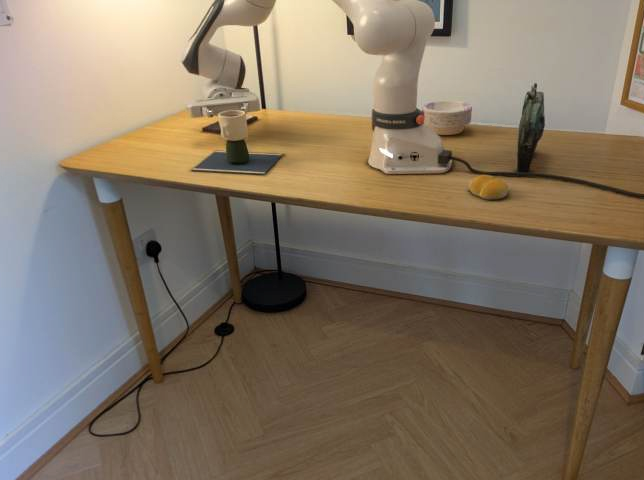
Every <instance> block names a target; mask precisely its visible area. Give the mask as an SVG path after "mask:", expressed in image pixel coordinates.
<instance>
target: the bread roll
mask: <svg viewBox="0 0 644 480" xmlns="http://www.w3.org/2000/svg"><path fill="white" fill-rule="evenodd" d="M468 185H469V187H468V188H469V191H470V192H471V193H472V195H474V196H477V197H480V198H481V199H484V200H501V199H503V198H505V197H506V196H507V195H508V193H509V185H508V184H507V182H506V181H504V180H503V179H496V178H495V177H494V176H493V175H485V174H479V175H478V176H476V177H475V178H474V179H472V180H471V181H470V182H469V184H468Z"/></svg>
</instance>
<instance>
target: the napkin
mask: <svg viewBox="0 0 644 480" xmlns="http://www.w3.org/2000/svg"><path fill="white" fill-rule="evenodd" d="M248 152H249V151H248ZM283 155H284V154H283V153H273V152H272V153H271V152H252V151H251V152H249V157H250V159H249V160H248V161H246V162H237V163H235V162H227V160H226V150H215V151H214V152H213V153H211V154H210V155H209V156H208V157H206V158H205V159H204V160H202V161H201V162H200V163H199V164H198V165H196V166H195V167H193V168H192V169H191V172H201V173H218V174H219V173H220V174H234V175H235V174H237V175H254V176H255V175H256V176H265V175H266V174H267V173H268V172H269V170H270V169H271V168H272V167H273V166H274V165H275V164H276V163H277V162H279V160H280V158H282V157H283Z"/></svg>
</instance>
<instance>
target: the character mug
mask: <svg viewBox="0 0 644 480" xmlns="http://www.w3.org/2000/svg"><path fill="white" fill-rule="evenodd" d="M246 115H247V114H245V112H244V111H240V110H229V111H223V112H220V113H219V114H218V117H217V118H218V121H219V125H220V128H221V134H220V136H221V138H222V139H223V140H225V141H226V142H225V151H226V160H227V162H235V163H237V162H246V161H248V160H249V159H250V157H249V147H248V146H247V141H246V139H247V138H248V137H249V130H248V124H247V121H246Z"/></svg>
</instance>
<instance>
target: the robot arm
mask: <svg viewBox="0 0 644 480" xmlns="http://www.w3.org/2000/svg"><path fill="white" fill-rule="evenodd" d="M331 1H332V2H333V3H334V4H335V5H337V6H338V7H339V9H340V10H341V11H343V12H344V13H345V15H346V16H347V17H348V19H349V20H350V23H352V26H353V35H354V40H355V42H356V44H357V46H358V48H359V49H360V50H361V51H362V52H364V53H365V54H367V55H370V56H371V55H372V56H382V57H381V61H380V64H379V67H378V69H377V70H376V72H375V74H374V77H373V108H372V110H371V129H372V141H371V148H370V152H369V155H368V156H369V158H368V160H367V163H368V164H369V166H371V167H373V168H374V169H377V170H380V171H381V172H383V173H384V174H386V175H415V174H418V175H419V174H420V175H421V174H424V175H425V174H444V173H446V172H448V171H450V169H451V168H452V166H453V161H456V162H459V163H462V164H463V165H465V166H466V168H467V169H468V170H469V171H470V172H472V173H474V174H477V175H478V174H479V175H490V176H519V177H520V176H523V177H541V178H547V179H548V178H550V179H557V180H562V181H570V182H573V183H580V184H584V185H588V186H592V187H596V188H600V189H604V190H607V191H608V190H609V191H613V192H616V193H619V194H624V195H627V196H631V197H638V198H644V193H640V192H634V191H631V190H625V189H621V188H619V187H614V186H611V185H610V186H609V185H605V184H601V183H598V182H593V181H588V180H585V179H580V178H576V177H570V176H563V175H559V174H558V175H557V174H551V173H550V174H549V173H539V172H529V173H523V172H517V171H481V170H477V169H476V168H473V167H472V166H471V164H470V163H469V162H468V161H466V160H465V159H462V158H459V157H456V156H453V150H449V149H445V146H444V141H443V139H442V137H441V135H439V134H436V133H435V132H433V131H432V130H431V129H430V128H428V126H427V125H425V124H424V120H425V117H424V111H423V110H422V109H419V108H418V87H419V86H418V85H419V75H420V70H421V64H422V61H423V58H424V55H425V54H424V53H425V50H426V46H427V44H428V41H429V39H430V38H431V36H432V35H433V32H434V29H435V26H436V19H435V14H434V12H433V9H432V8H431V7H430V5H429V4H427V3H426V2H424V1H422V0H331ZM276 2H277V0H214V1H213V3H212V4H211V5H210V7H209V8H208V10H207V11H206V13H205V15H204V16H203V18H202V20H201V21H200V23H199V25H198V26H197V27H196V30H195V31H194V33H193V34H192V35H191V36H190V38H189V39H188V41H187V43H186V44H185V45H184V46H183V49H182V53H181V63H182V65H183V67H184V69H185V70H186V71H187V73H188V74H191V75H195V76H200V77H203V78H206V79H207V80H206V81H205V83H204V85H203V88H202V96H203V98H197V99H192V100H191V99H190V100H189V101H188V103H187V104H186V105H185V107H186V109H187V110H188V113H189V117H190V118H193V119H195V118H196V119H197V118H206V117H207V118H214V117H216V118H218V114H219V113H220V112H223V111H229V110H240V111H244V112H245V114H246V115H248V113H255V112H256V113H257V112H260V110H261V103H260V99H259V97H258V96H257V94H255V93H254V92H252V91H250V88H249V87H243V85H244V83H245V78H246V74H247V73H246V71H247V70H246V64H245V62H244V59H243V57H242V55H241V54H238V53H236V52H234V51H231V50H228V49H224V48H222V47H220V46H218V45H214V44H212V43H210V41H211V40H212V39H213V36H214V35H215V33H216V32H217V31H218V29H220V28H221V27H225V26H239V27H256V26H259V25H261V24H263V23H265V22H266V21H267V19H268V18H269V17H270V15H271V13H272V12H273V9H274V7H275V5H276ZM640 356H644V343H643V345H642V348H641V352H640Z"/></svg>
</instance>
